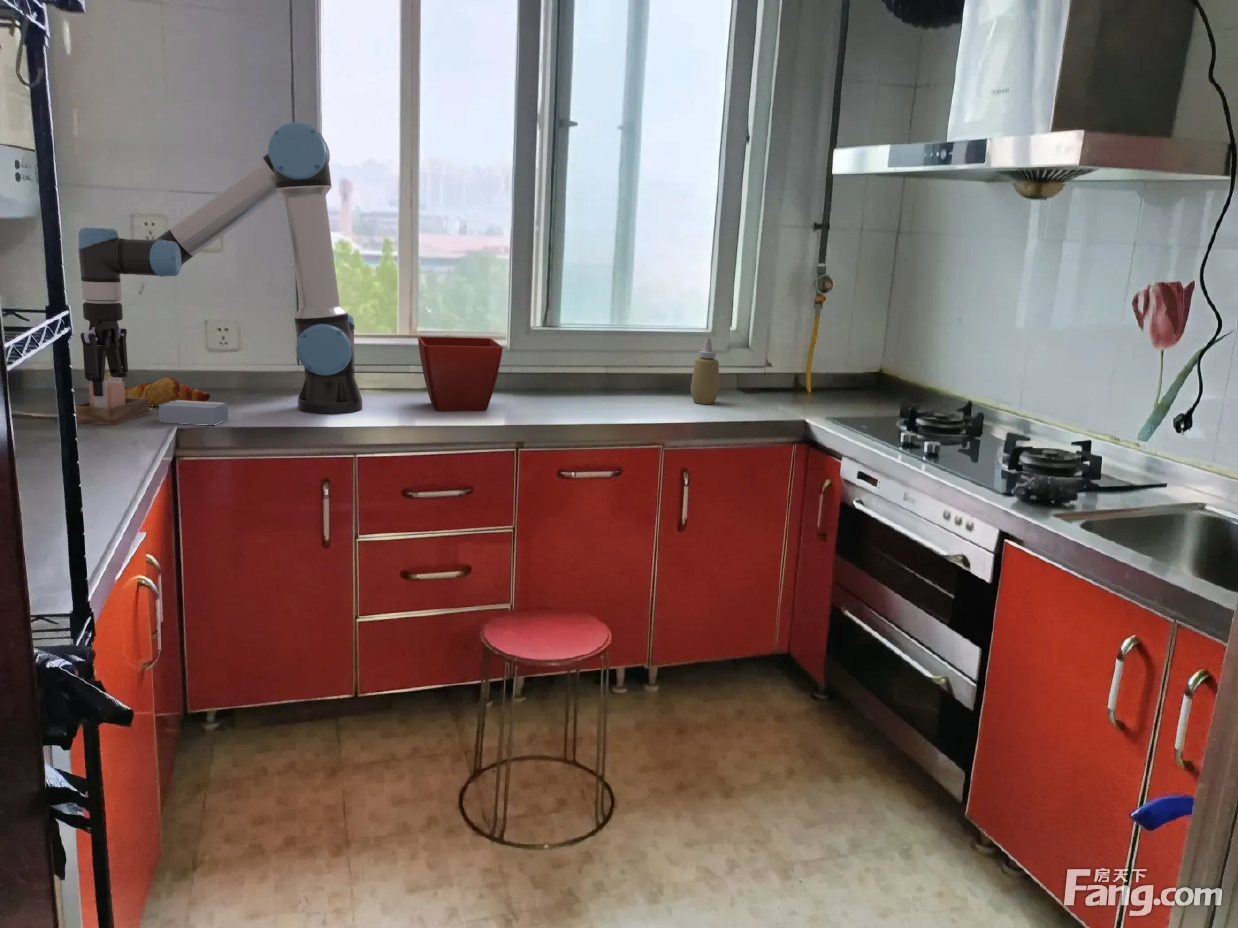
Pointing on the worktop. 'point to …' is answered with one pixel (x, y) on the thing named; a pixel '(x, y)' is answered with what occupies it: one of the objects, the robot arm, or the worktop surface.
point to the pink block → (111, 394)
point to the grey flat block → (193, 412)
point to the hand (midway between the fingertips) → (109, 408)
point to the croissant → (166, 392)
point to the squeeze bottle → (705, 376)
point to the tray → (112, 412)
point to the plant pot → (460, 371)
